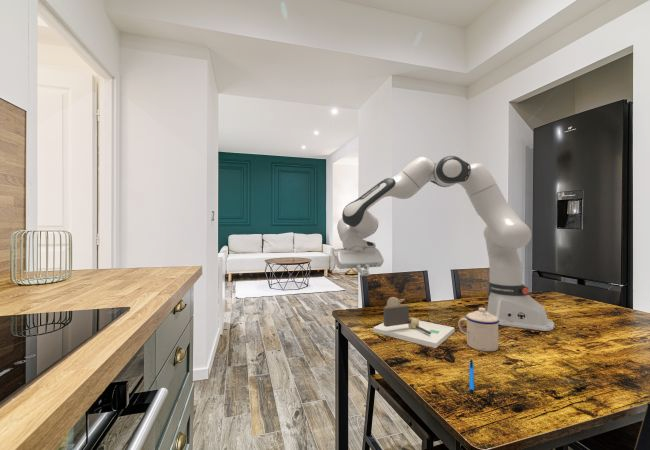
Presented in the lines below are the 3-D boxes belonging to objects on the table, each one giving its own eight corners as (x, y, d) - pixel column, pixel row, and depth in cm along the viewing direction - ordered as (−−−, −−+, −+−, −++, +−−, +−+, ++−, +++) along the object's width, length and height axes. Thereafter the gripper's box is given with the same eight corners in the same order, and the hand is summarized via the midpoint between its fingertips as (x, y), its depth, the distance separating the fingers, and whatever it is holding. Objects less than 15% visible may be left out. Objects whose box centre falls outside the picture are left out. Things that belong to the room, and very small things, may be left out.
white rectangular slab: (454, 331, 107) (454, 327, 107) (435, 348, 93) (435, 343, 93) (396, 319, 121) (396, 315, 121) (372, 332, 107) (372, 327, 107)
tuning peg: (414, 324, 109) (414, 303, 109) (434, 333, 100) (434, 310, 100) (382, 328, 105) (382, 306, 105) (399, 339, 95) (399, 315, 95)
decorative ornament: (389, 306, 140) (389, 295, 140) (405, 310, 134) (405, 298, 134) (384, 308, 137) (384, 296, 137) (400, 312, 131) (400, 299, 131)
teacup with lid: (504, 346, 94) (504, 308, 94) (491, 355, 88) (491, 314, 88) (465, 335, 103) (465, 301, 103) (451, 342, 98) (451, 306, 98)
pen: (473, 361, 85) (473, 357, 85) (474, 397, 67) (473, 392, 67) (469, 361, 85) (469, 357, 85) (469, 396, 68) (469, 391, 68)
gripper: (333, 244, 125) (343, 271, 116) (378, 242, 132) (390, 269, 123) (329, 254, 129) (339, 281, 120) (373, 252, 136) (384, 278, 127)
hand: (365, 275), depth 121 cm, fingers closed
